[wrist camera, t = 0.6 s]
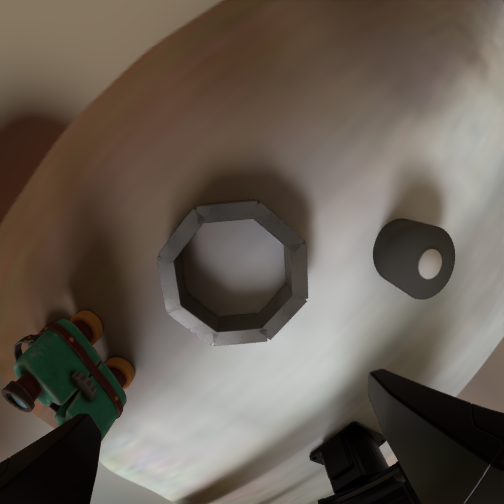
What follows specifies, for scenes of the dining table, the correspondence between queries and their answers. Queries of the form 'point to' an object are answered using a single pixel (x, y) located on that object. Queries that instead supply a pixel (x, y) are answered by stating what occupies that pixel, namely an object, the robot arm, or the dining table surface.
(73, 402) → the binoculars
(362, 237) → the dining table surface
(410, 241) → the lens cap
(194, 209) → the barrel ring
